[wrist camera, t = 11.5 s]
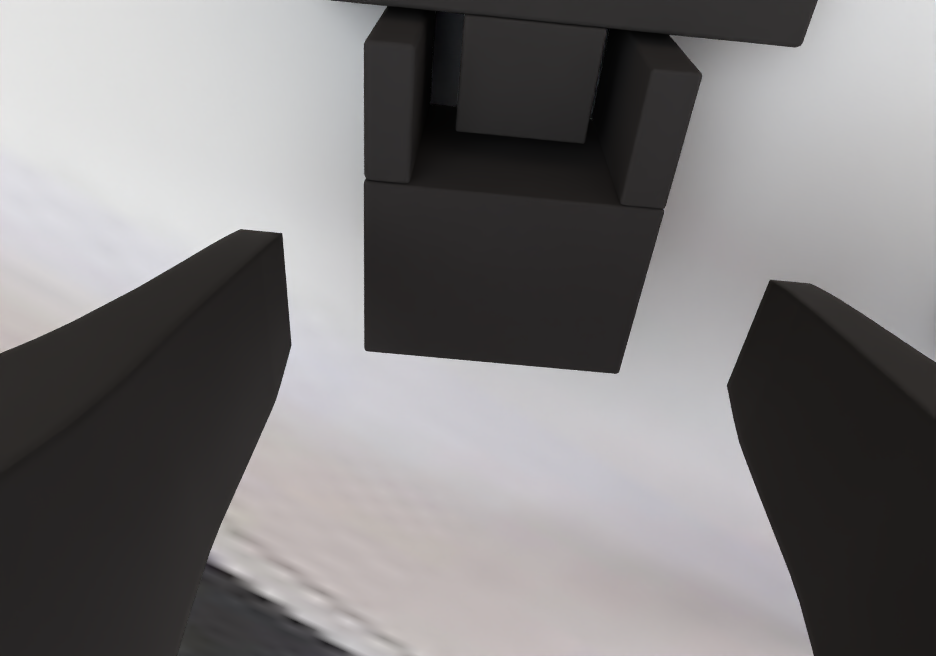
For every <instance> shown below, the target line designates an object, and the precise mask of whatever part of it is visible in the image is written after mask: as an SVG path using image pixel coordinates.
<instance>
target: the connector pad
mask: <svg viewBox="0 0 936 656" xmlns="http://www.w3.org/2000/svg"><path fill="white" fill-rule="evenodd" d="M435 13H436V11H431V10H422V9H412V8H402V7H392V6H387V8H386V9H385V11H384V12H383V14H382V16H381V17H380V19H379V20H378V22H377V23H376V25H375V27H374V28H373V30H372V31H371V33H370V34H369V36H368V38H367V39H366V41H365V43H364V174H365V177H366V179H365V182H364V348H365V351H370V352H382V353H393V354H404V355H415V356H426V357H437V358H448V359H459V360H470V361H481V362H492V363H503V364H514V365H525V366H536V367H547V368H559V369H570V370H581V371H592V372H603V373H614V374H617V373H619V370H620V366H621V363H622V359H623V356H624V352H625V349H626V345H627V342H628V338H629V335H630V331H631V327H632V324H633V320H634V317H635V313H636V310H637V306H638V303H639V299H640V296H641V292H642V288H643V285H644V281H645V278H646V274H647V271H648V267H649V264H650V260H651V257H652V253H653V249H654V246H655V242H656V239H657V235H658V232H659V228H660V225H661V221H662V218H663V214H664V210H663V208H665V206H666V203H667V199H668V196H669V192H670V189H671V185H672V182H673V178H674V174H675V171H676V167H677V164H678V160H679V157H680V153H681V150H682V146H683V143H684V139H685V135H686V132H687V128H688V125H689V121H690V118H691V114H692V111H693V107H694V103H695V100H696V96H697V93H698V89H699V86H700V82H701V79H702V74H701V72H700V71H699V70H698V69H697V68H696V67H695V65H694V64H693V63H692V62H691V61H690V59H689V58H688V57H687V56H686V55H685V53H684V52H683V51H682V50H681V49H680V48H679V46H678V45H677V44H676V43H675V42H674V40H673V39H672V38H671V37H670V36H669V34H659V33H649V32H639V31H629V30H619V29H609V34H608V39H607V44H606V49H605V54H604V59H603V64H602V69H601V74H600V80H599V85H598V90H597V95H596V100H595V105H594V110H593V115H592V119H593V120H589V125H588V130H587V136H586V141H585V143H583V144H580V143H569V142H559V141H549V140H539V139H528V138H518V137H508V136H498V135H487V134H477V133H467V132H458V131H456V129H455V128H456V115H457V107H453V106H443V105H433V104H430V101H431V87H432V68H433V50H434V31H435Z"/></svg>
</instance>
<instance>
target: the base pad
mask: <svg viewBox="0 0 936 656" xmlns="http://www.w3.org/2000/svg"><path fill="white" fill-rule="evenodd" d="M333 1H343V2H352V3H362V4H372V5H382V6H392V7H402V8H412V9H422V10H431V11H441V12H451V13H461V14H465V15H464V25H463V38H462V51H461V64H460V77H459V89H458V102H457V115H456V128H455V129H456V131H458V132H467V133H477V134H487V135H498V136H508V137H518V138H528V139H539V140H549V141H559V142H569V143H580V144H583V143H585V141H586V136H587V130H588V125H589V120H590V115H591V110H592V105H593V100H594V94H595V89H596V84H597V79H598V74H599V69H600V63H601V58H602V53H603V48H604V43H605V38H606V29H605V28H609V29H619V30H629V31H639V32H649V33H659V34H669V35H678V36H688V37H698V38H708V39H718V40H728V41H738V42H748V43H757V44H767V45H777V46H787V47H798V46H801V44H802V43H803V40H804V37H805V35H806V32H807V29H808V26H809V23H810V21H811V18H812V15H813V12H814V9H815V6H816V4H817V1H818V0H333Z"/></svg>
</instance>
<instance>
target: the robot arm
mask: <svg viewBox="0 0 936 656" xmlns="http://www.w3.org/2000/svg"><path fill="white" fill-rule="evenodd" d="M290 348H291V334H290V322H289V310H288V298H287V286H286V273H285V261H284V249H283V237H282V233H274V232H264V231H253V230H243V229H240V230H238V231H236V232H234V233H232V234H230V235H228V236H226V237H224V238H222V239H220V240H219V241H217V242H215V243H213V244H212V245H210V246H208V247H206V248H205V249H203V250H201V251H200V252H198V253H196V254H195V255H193V256H191V257H190V258H188V259H186V260H184V261H183V262H181V263H179V264H178V265H176V266H174V267H172V268H171V269H169V270H167V271H166V272H164V273H162V274H160V275H159V276H157V277H155V278H154V279H152V280H150V281H148V282H147V283H145V284H143V285H141V286H140V287H138V288H136V289H134V290H132V291H130V292H128V293H127V294H125V295H123V296H121V297H119V298H117V299H115V300H113V301H111V302H109V303H107V304H105V305H104V306H102V307H100V308H98V309H96V310H94V311H92V312H90V313H88V314H86V315H84V316H83V317H81V318H79V319H77V320H75V321H73V322H71V323H69V324H67V325H64V326H62V327H60V328H58V329H56V330H54V331H52V332H49V333H47V334H45V335H43V336H41V337H38V338H36V339H34V340H31V341H29V342H27V343H24V344H22V345H20V346H17V347H15V348H12V349H10V350H8V351H5V352H3V353H0V656H177V655H178V651H179V648H180V645H181V641H182V638H183V635H184V631H185V628H186V625H187V621H188V618H189V615H190V612H191V609H192V606H193V603H194V599H195V596H196V593H197V590H198V587H199V584H200V581H201V578H202V575H203V572H204V569H205V565H206V562H207V559H208V556H209V553H210V550H211V548H212V545H213V543H214V540H215V538H216V535H217V533H218V530H219V528H220V525H221V523H222V520H223V518H224V516H225V514H226V511H227V509H228V507H229V505H230V503H231V500H232V498H233V496H234V494H235V491H236V489H237V487H238V485H239V482H240V480H241V478H242V476H243V474H244V471H245V469H246V467H247V465H248V462H249V460H250V458H251V456H252V453H253V451H254V449H255V447H256V445H257V442H258V440H259V438H260V435H261V433H262V431H263V429H264V426H265V424H266V422H267V420H268V417H269V415H270V413H271V410H272V408H273V406H274V403H275V401H276V398H277V395H278V391H279V388H280V384H281V381H282V378H283V374H284V370H285V367H286V363H287V359H288V356H289V352H290ZM727 388H728V393H729V398H730V403H731V408H732V414H733V418H734V422H735V427H736V431H737V435H738V439H739V443H740V446H741V448H742V451H743V454H744V457H745V459H746V462H747V465H748V467H749V470H750V473H751V475H752V478H753V481H754V483H755V486H756V488H757V491H758V494H759V496H760V499H761V501H762V504H763V506H764V509H765V511H766V514H767V517H768V519H769V522H770V524H771V527H772V529H773V532H774V534H775V537H776V540H777V542H778V545H779V547H780V550H781V552H782V555H783V557H784V560H785V563H786V565H787V568H788V570H789V573H790V576H791V579H792V582H793V585H794V587H795V590H796V593H797V596H798V599H799V602H800V606H801V609H802V613H803V617H804V620H805V624H806V628H807V632H808V635H809V639H810V643H811V646H812V650H813V654H814V656H936V362H934V361H933V360H931V359H929V358H928V357H926V356H925V355H923V354H922V353H920V352H919V351H917V350H916V349H914V348H913V347H911V346H910V345H908V344H907V343H905V342H904V341H902V340H901V339H899V338H898V337H896V336H895V335H893V334H892V333H890V332H889V331H887V330H886V329H884V328H883V327H881V326H880V325H878V324H877V323H875V322H874V321H872V320H871V319H869V318H868V317H866V316H865V315H863V314H862V313H860V312H859V311H857V310H856V309H854V308H852V307H851V306H849V305H848V304H846V303H845V302H843V301H841V300H840V299H838V298H836V297H835V296H833V295H831V294H830V293H828V292H826V291H824V290H822V289H820V288H818V287H816V286H814V285H812V284H808V283H798V282H787V281H777V280H770V281H769V283H768V286H767V288H766V290H765V293H764V295H763V298H762V300H761V303H760V305H759V308H758V310H757V313H756V315H755V318H754V320H753V322H752V325H751V327H750V330H749V332H748V335H747V337H746V340H745V342H744V345H743V347H742V349H741V352H740V354H739V357H738V359H737V362H736V364H735V367H734V369H733V372H732V374H731V376H730V379H729V381H728V384H727Z"/></svg>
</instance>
